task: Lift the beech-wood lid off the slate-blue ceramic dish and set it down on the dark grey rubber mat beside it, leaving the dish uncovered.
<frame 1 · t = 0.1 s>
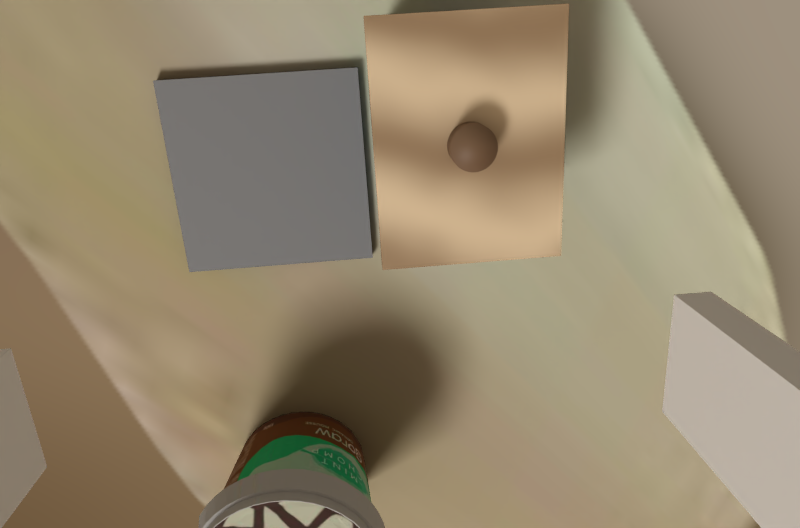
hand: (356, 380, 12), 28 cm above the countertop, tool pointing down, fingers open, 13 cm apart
food container: (319, 435, 45), on the countertop
mat: (270, 172, 38), on the countertop
lid: (466, 141, 33), point 6 cm above the countertop, touching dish
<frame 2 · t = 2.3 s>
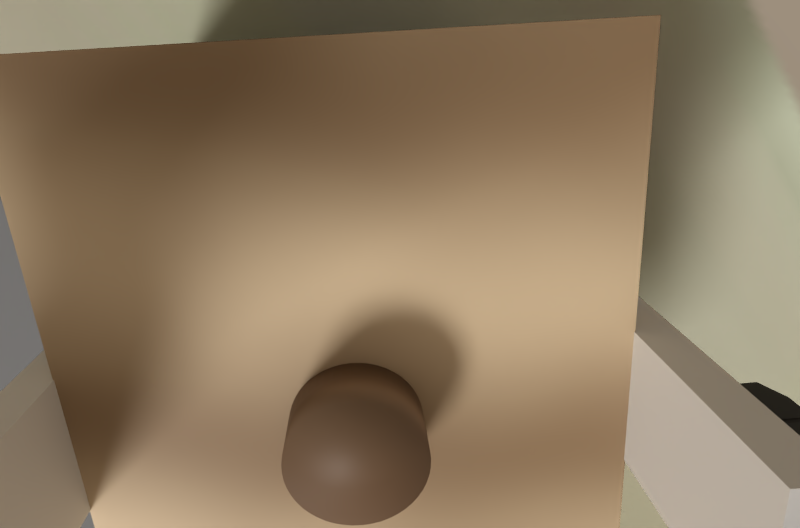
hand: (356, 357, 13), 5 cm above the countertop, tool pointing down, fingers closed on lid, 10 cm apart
lid: (356, 387, 12), point 6 cm above the countertop, touching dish, gripper
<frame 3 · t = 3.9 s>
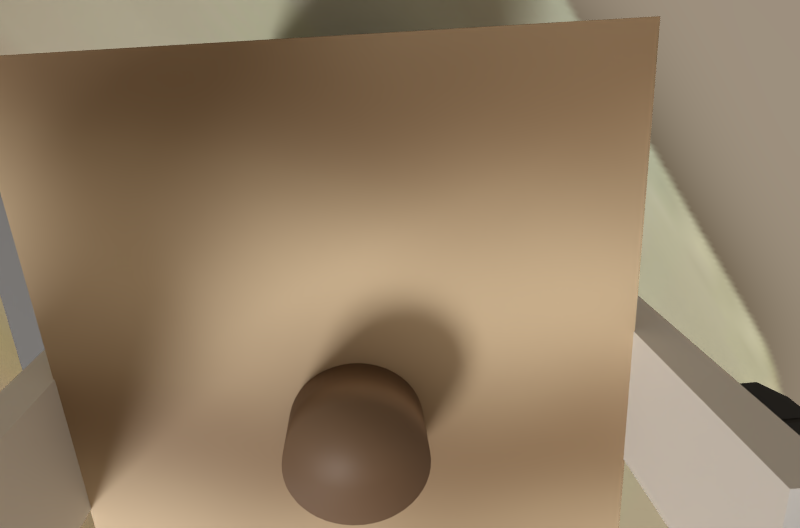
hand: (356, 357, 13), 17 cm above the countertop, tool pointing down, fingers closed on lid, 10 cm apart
mat: (125, 252, 29), on the countertop
lid: (356, 387, 12), point 18 cm above the countertop, touching gripper
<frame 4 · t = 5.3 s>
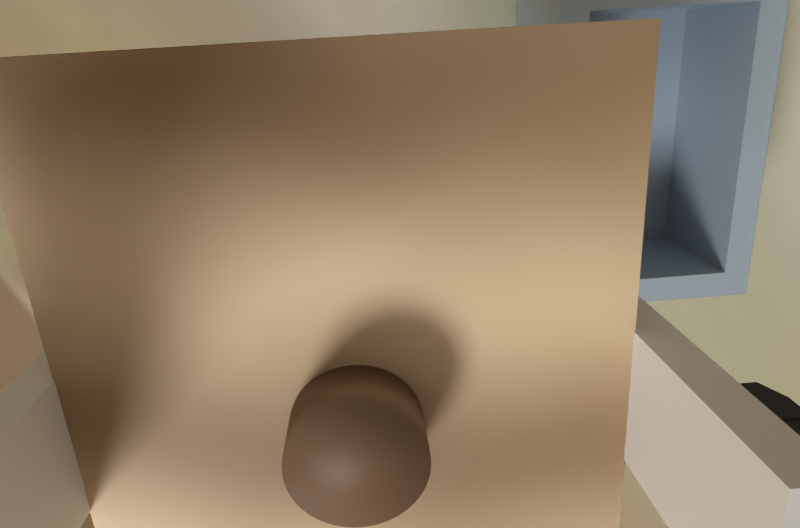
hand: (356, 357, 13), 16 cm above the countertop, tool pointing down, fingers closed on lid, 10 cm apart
lid: (356, 389, 12), point 17 cm above the countertop, touching gripper
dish: (601, 131, 28), on the countertop
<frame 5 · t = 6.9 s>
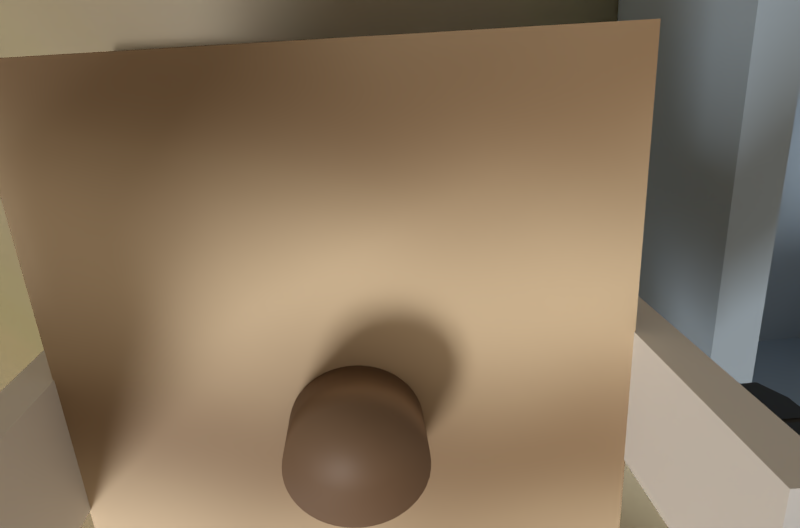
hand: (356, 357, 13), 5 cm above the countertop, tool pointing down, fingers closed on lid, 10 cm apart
lid: (356, 389, 12), point 6 cm above the countertop, touching gripper
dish: (740, 175, 18), on the countertop
when the fingers open (2 cm above the countertop, at t = 8.2 s): lid drops 3 cm, resting on mat.
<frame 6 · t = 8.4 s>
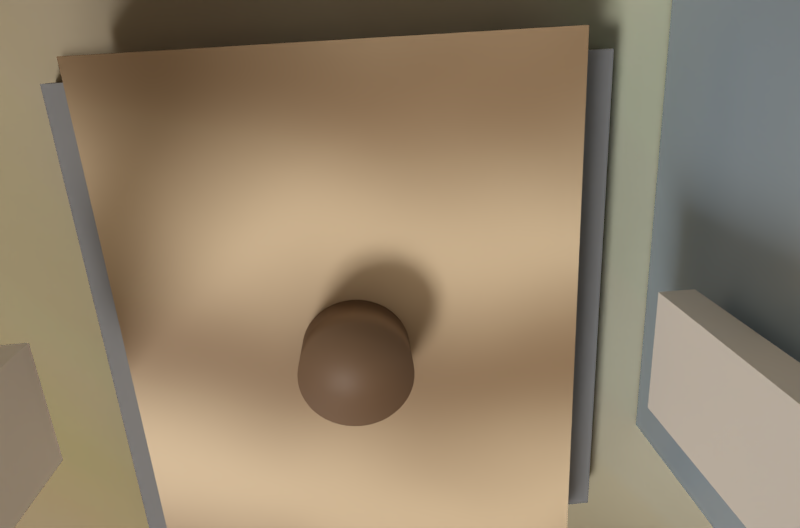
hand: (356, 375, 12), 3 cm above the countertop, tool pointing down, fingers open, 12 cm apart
mat: (356, 315, 15), on the countertop
lid: (356, 326, 15), point 1 cm above the countertop, touching mat
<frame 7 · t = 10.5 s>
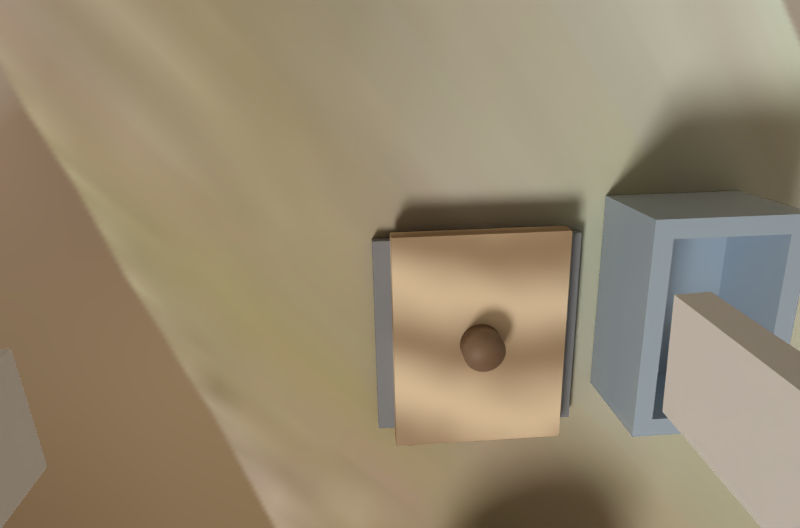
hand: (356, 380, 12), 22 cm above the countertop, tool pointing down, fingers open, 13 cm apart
mat: (474, 330, 37), on the countertop
lid: (476, 334, 36), point 1 cm above the countertop, touching mat
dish: (661, 290, 37), on the countertop
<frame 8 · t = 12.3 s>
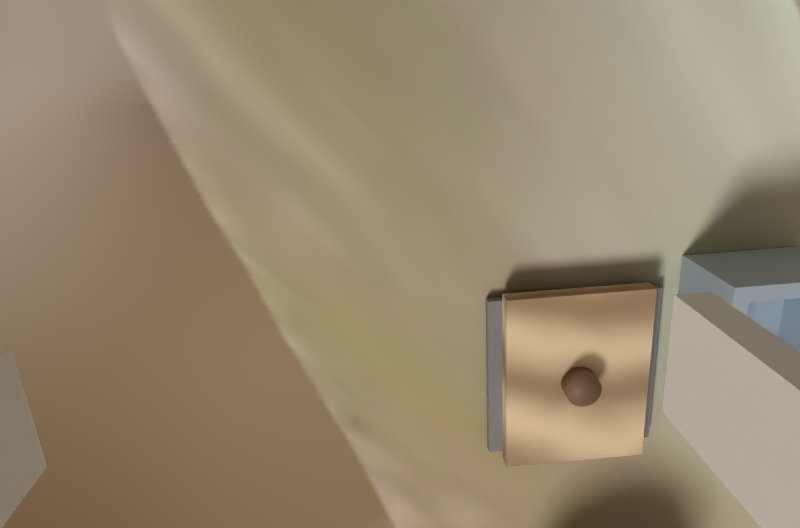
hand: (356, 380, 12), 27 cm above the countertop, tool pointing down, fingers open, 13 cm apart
mat: (569, 368, 43), on the countertop
lid: (572, 373, 43), point 1 cm above the countertop, touching mat
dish: (728, 330, 43), on the countertop
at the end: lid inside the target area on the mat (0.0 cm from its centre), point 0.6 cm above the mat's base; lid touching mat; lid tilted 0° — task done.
